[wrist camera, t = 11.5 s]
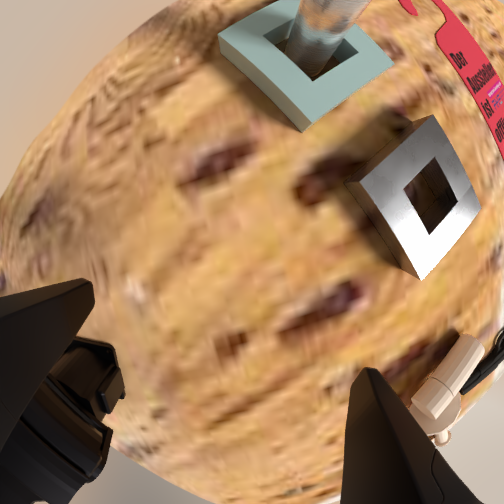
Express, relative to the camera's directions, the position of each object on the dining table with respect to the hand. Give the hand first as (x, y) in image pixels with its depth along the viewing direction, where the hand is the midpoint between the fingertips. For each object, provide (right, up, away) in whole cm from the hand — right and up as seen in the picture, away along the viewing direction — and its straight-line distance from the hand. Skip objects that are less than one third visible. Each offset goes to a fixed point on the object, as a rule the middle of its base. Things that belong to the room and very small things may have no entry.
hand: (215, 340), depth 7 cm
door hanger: (+26, +24, +9) cm, 36 cm away
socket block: (+14, +7, +11) cm, 20 cm away
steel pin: (+5, +17, +9) cm, 20 cm away
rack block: (+5, +17, +9) cm, 20 cm away
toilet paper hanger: (+27, -17, +18) cm, 36 cm away
